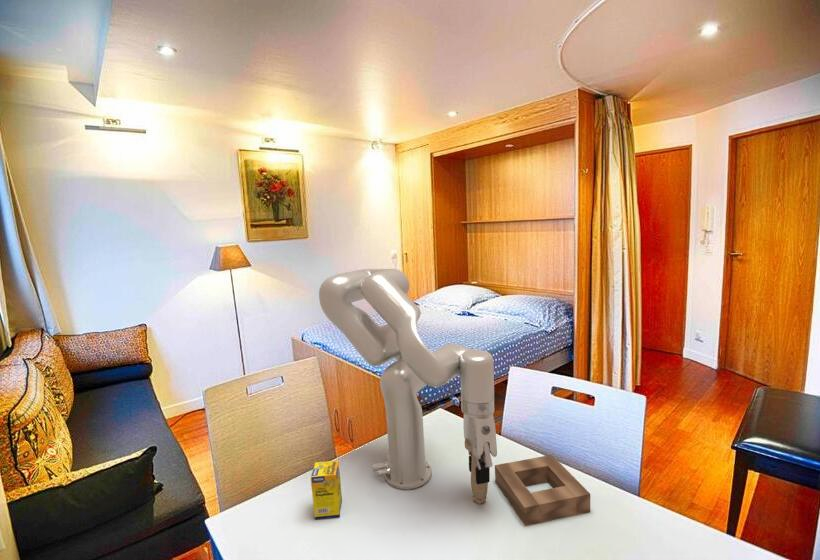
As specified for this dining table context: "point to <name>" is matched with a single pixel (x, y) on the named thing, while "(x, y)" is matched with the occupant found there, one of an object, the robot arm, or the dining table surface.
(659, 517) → the dining table surface
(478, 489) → the handle
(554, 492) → the socket block
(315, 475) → the supplement box
